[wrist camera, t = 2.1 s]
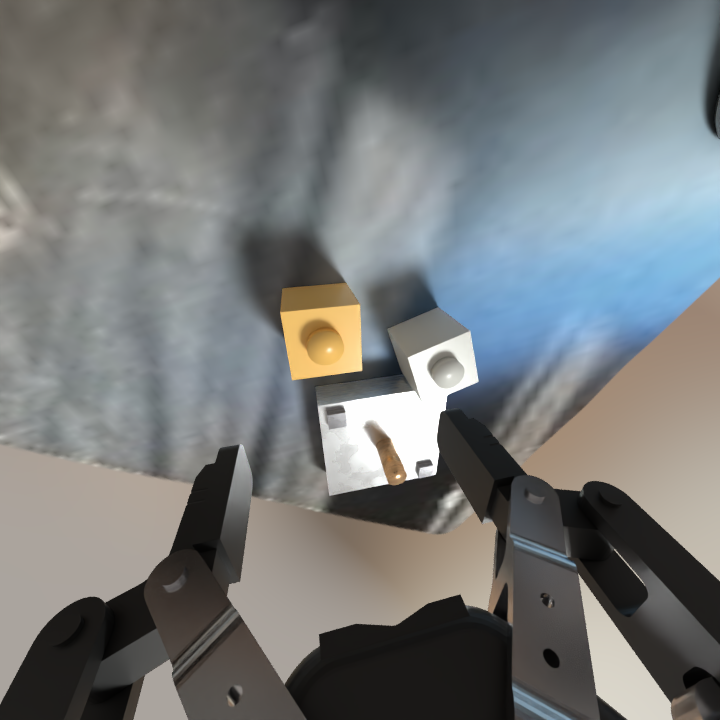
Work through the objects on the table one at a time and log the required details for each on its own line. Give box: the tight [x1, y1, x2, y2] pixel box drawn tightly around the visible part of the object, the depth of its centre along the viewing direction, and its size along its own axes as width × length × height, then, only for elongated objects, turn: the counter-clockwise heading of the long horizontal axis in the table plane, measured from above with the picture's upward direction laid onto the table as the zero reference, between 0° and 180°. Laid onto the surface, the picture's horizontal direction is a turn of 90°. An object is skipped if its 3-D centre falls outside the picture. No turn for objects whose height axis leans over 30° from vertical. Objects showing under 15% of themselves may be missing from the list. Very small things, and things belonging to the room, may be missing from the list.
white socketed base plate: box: [315, 374, 447, 496], centre depth 28 cm, size 12×12×7 cm
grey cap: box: [387, 307, 478, 405], centre depth 25 cm, size 5×5×6 cm
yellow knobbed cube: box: [280, 283, 362, 380], centre depth 22 cm, size 5×5×6 cm
